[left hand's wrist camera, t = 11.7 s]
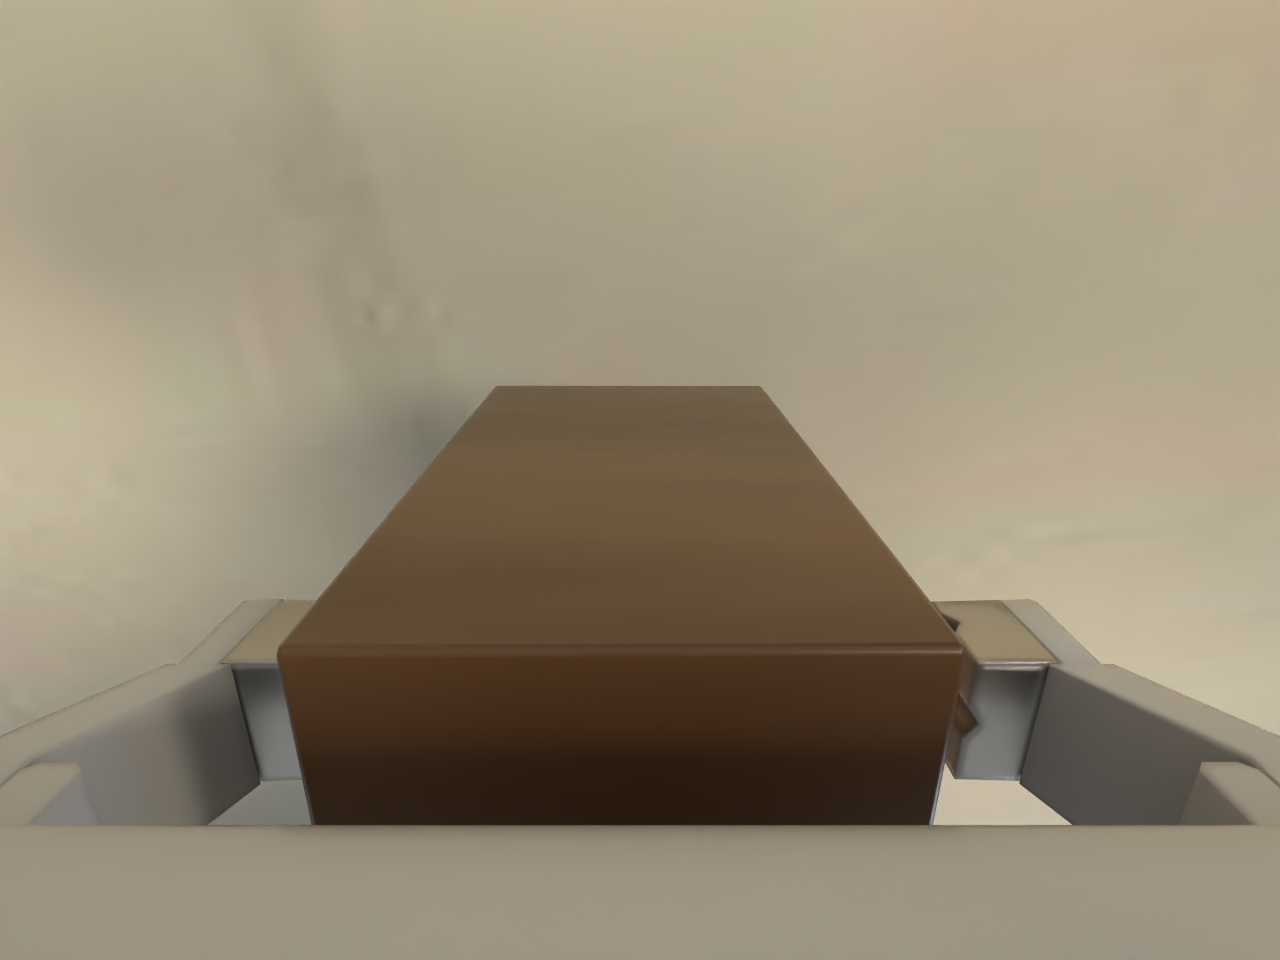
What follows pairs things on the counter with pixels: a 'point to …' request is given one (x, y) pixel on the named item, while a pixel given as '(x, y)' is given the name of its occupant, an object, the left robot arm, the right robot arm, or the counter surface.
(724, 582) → the box
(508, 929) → the left robot arm
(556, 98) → the counter surface
